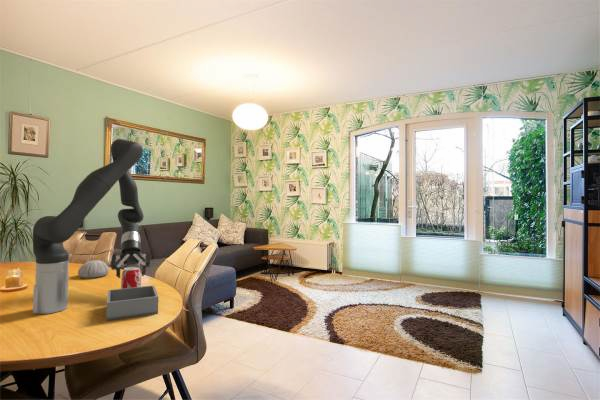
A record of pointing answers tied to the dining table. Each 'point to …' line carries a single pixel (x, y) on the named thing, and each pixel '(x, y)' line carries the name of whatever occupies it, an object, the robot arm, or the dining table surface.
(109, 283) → the dining table surface
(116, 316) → the bin
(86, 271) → the sea urchin shell
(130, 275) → the soda can
